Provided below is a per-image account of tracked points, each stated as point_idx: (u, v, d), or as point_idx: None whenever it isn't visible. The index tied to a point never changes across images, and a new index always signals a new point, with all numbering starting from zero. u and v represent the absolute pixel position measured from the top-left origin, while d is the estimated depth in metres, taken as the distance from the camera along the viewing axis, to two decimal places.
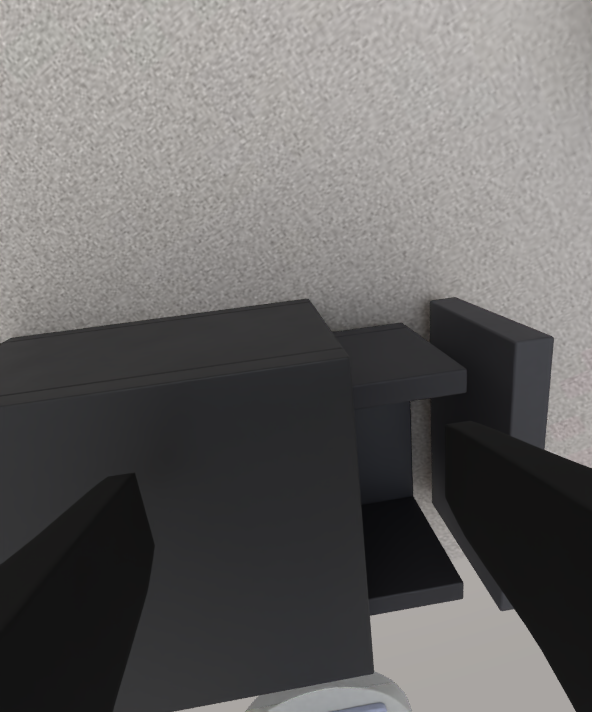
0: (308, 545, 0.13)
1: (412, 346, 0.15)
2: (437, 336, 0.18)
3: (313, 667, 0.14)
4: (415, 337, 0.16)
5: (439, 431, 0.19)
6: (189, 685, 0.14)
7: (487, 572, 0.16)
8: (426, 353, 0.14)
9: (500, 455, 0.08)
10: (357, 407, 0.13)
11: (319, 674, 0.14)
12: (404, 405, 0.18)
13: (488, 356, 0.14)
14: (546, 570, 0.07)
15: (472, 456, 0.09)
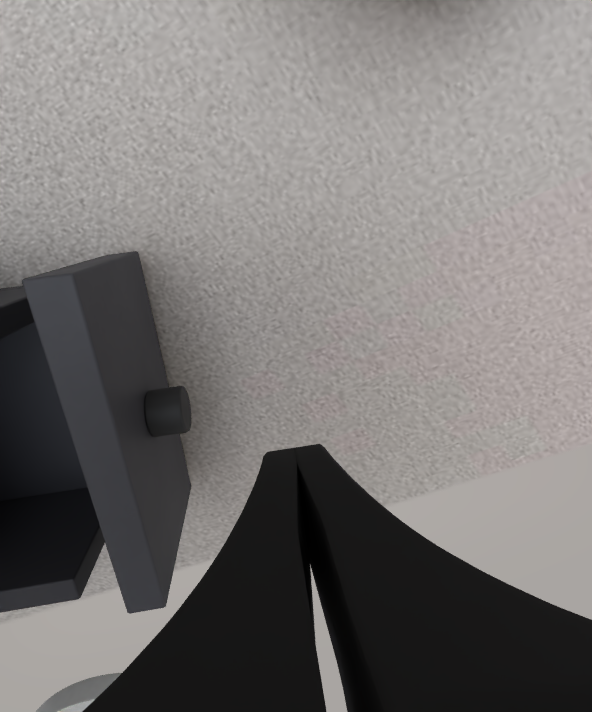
0: None
1: (5, 298, 0.13)
2: None
3: None
4: None
5: None
6: None
7: None
8: None
9: (307, 486, 0.07)
10: None
11: None
12: None
13: None
14: (333, 608, 0.07)
15: (301, 483, 0.08)
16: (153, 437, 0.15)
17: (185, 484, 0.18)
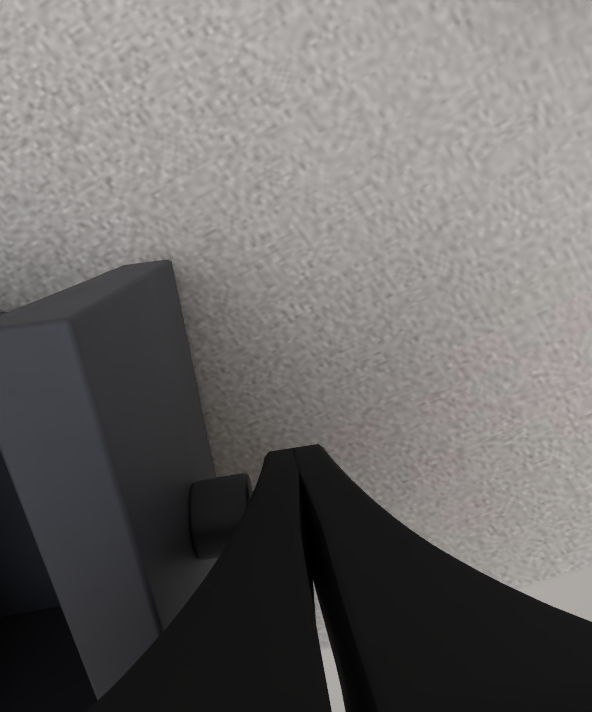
0: None
1: None
2: None
3: None
4: None
5: None
6: None
7: None
8: None
9: (306, 486, 0.07)
10: None
11: None
12: None
13: None
14: (331, 608, 0.07)
15: (299, 483, 0.08)
16: (201, 558, 0.09)
17: None
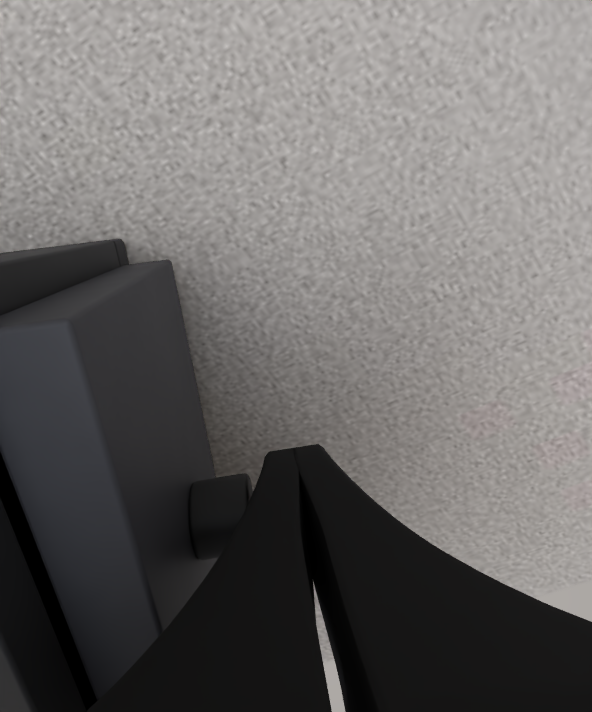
0: None
1: None
2: None
3: None
4: None
5: None
6: None
7: None
8: None
9: (306, 486, 0.07)
10: None
11: None
12: None
13: None
14: (331, 608, 0.07)
15: (299, 484, 0.08)
16: (201, 558, 0.09)
17: None
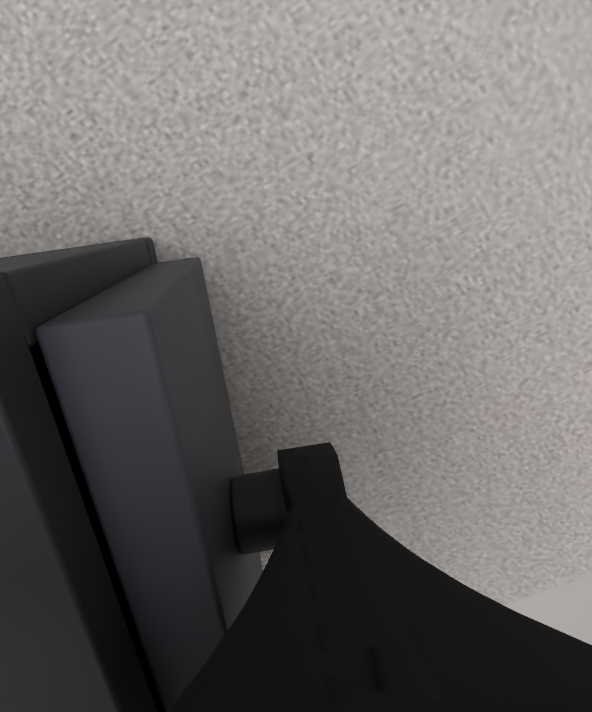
0: None
1: None
2: None
3: None
4: None
5: None
6: None
7: None
8: None
9: (287, 489, 0.07)
10: None
11: None
12: None
13: None
14: None
15: (282, 486, 0.08)
16: (241, 554, 0.09)
17: None
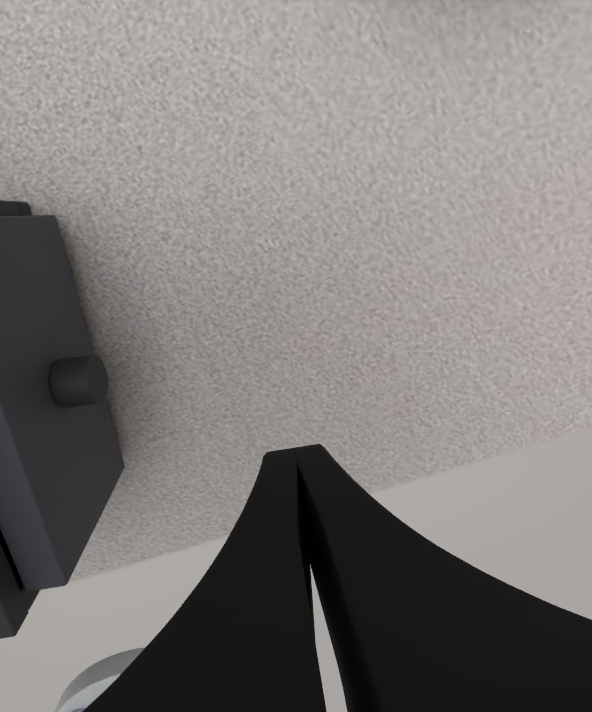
0: None
1: None
2: None
3: None
4: None
5: None
6: None
7: None
8: None
9: (307, 486, 0.07)
10: None
11: None
12: None
13: None
14: (333, 608, 0.07)
15: (301, 483, 0.08)
16: (63, 409, 0.14)
17: (114, 463, 0.17)
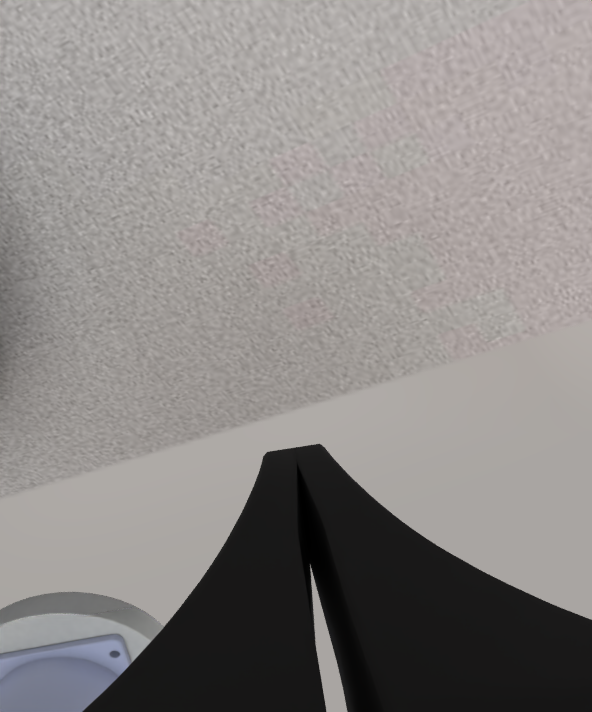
0: None
1: None
2: None
3: None
4: None
5: None
6: None
7: None
8: None
9: (307, 486, 0.07)
10: None
11: None
12: None
13: None
14: (333, 608, 0.07)
15: (301, 484, 0.08)
16: None
17: None
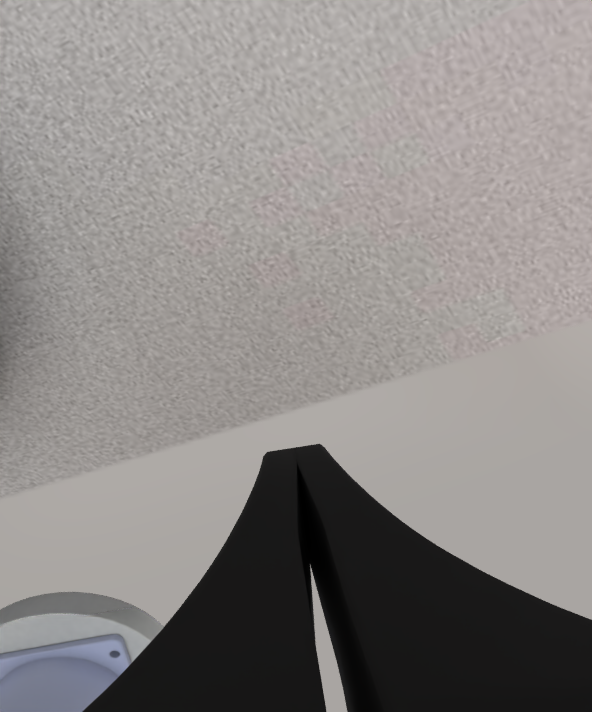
0: None
1: None
2: None
3: None
4: None
5: None
6: None
7: None
8: None
9: (307, 486, 0.07)
10: None
11: None
12: None
13: None
14: (333, 608, 0.07)
15: (301, 484, 0.08)
16: None
17: None
